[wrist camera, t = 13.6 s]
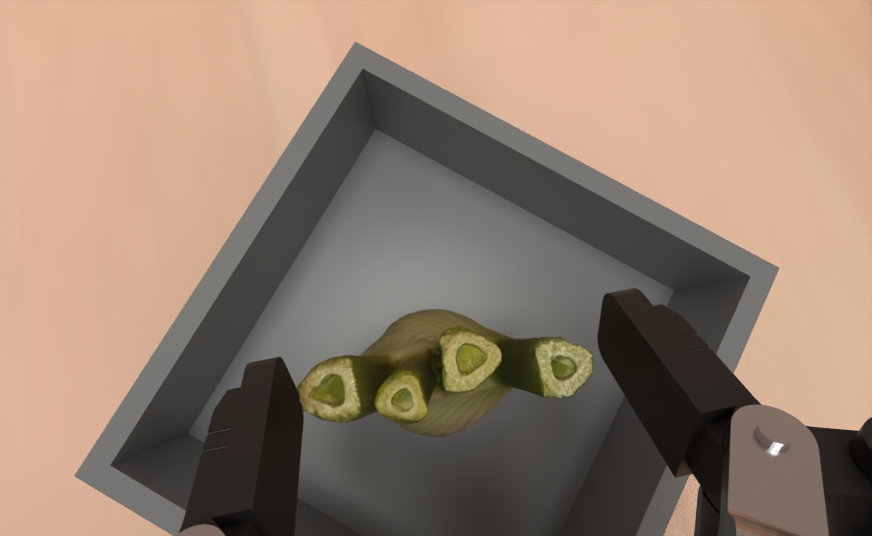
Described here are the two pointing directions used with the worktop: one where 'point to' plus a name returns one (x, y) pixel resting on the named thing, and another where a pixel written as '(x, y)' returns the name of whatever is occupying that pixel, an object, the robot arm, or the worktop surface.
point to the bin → (420, 290)
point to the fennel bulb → (441, 374)
